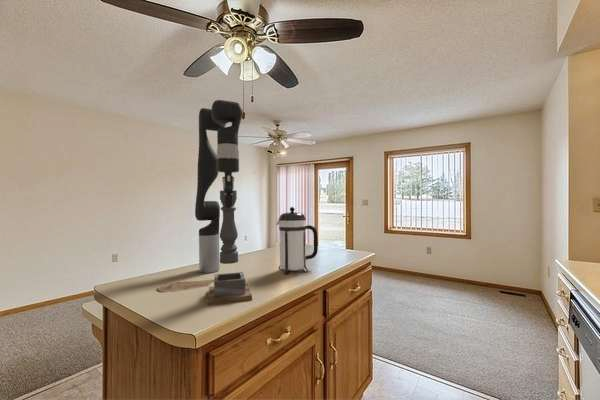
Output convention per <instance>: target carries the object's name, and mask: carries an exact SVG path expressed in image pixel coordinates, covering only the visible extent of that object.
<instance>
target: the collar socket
mask: <svg viewBox="0 0 600 400" xmlns="http://www.w3.org/2000/svg"><path fill="white" fill-rule="evenodd" d="M213 280H214V282H213V283H214V284H213V286H209V289H208V295H207V306H210V305H219V304H220V305H221V304H227V303H228V304H230V303H235V302H236V303H237V302H245V301H246V302H247V301H252V300H253V295H252V292H251V289H250V285H249V283H246V279H245V274H244V272H243V271H240V272H239V271H238V272H230V273H229V272H227V273H217V274H214V279H213Z"/></svg>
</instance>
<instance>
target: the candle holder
mask: <svg viewBox="0 0 600 400" xmlns="http://www.w3.org/2000/svg"><path fill="white" fill-rule="evenodd" d="M237 193H238V192H237V190H234V189H233V194H232V195H231V196H232V206H231V207H226V206H225V196H227V195H225V190H223V189H222V190H219V200H220V202H221V205H222V206H220V211H222V223H221V228H220V230H219V240H220V241H222V242H221V243H222V245H221V247H220V251H219V264H223V265H230V264H235V263H238V262H239V251H237V249H238V246H236V244H235V243H236V240H237V239H238V236H239V235H238V234H239V233H238V230H237V225H236V222H235V211H236V210H237V207H236V206H235V204H236V203H237V198H238V196H237Z"/></svg>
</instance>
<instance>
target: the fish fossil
mask: <svg viewBox="0 0 600 400" xmlns="http://www.w3.org/2000/svg"><path fill="white" fill-rule="evenodd" d="M212 283H214V279H205V280H195V281H193V280H191V281H177V282H173V283H172V282H171V283H170V282H169V283H165V284H162V285H159V286H158V287H157V289H156V290H157V292H159V293H176V292H181V291H188V290H192V289H193V290H194V289H198V288H203V287H208V286H209V287H210V285H211V284H212Z"/></svg>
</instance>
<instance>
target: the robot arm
mask: <svg viewBox="0 0 600 400" xmlns="http://www.w3.org/2000/svg"><path fill="white" fill-rule="evenodd" d="M243 114H244V109H243V106H242V104H240V103H239V102H236V101H232V100H231V101H228V100H223V99H217V100H214V101H213V103H212V105H211V108H205V107H203V108H200V110H199V114H198V153H197V155H198V158H197V159H198V160H197V183H196V185H197V189H196V195H195V196H196V198H195V206H194V207H195V209H194V216H195V219H196V220H197V221H199V222H201V221H202V222H203V221H204V222H205V221H210V223H208V224H207V225H205V226H204V227H201V228H199V229H198V265H199V266H198V270H199V273H201V274H202V273H204V274H206V273H207V274H208V273H210V274H211V273H215V272H218V271H220V218H221V217H220V216H221V215H220V214H221V206H220V204H219V202H218V201H216V200H206V195H207V192H208V191H209V189H210V188H211V186H212V185H213V183H214V182H215V181H216V179H217V178H218V177H219V176H218V175H219V173H224V176H222V188H223V189H222V190H225V195H227V196H225V206H226V207H231V206H232V196H231V195H232V194H233V190H234V188H235V187H234V185H235V184H234V183H235V177H234V176H233V174H234V173H238V172H240V150H239V130H240V126H241V122H242V118H243ZM228 123H231V125H230V126H226V125H227V124H228ZM207 131H212V132H214V131H215V132H216V133H217V138H216V139H217V141H216V142H217V143H216V144H217V148H216V152H215V149H214V148H213V147H212V145H211V143H210V140H209V138H208V134H207Z"/></svg>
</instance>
